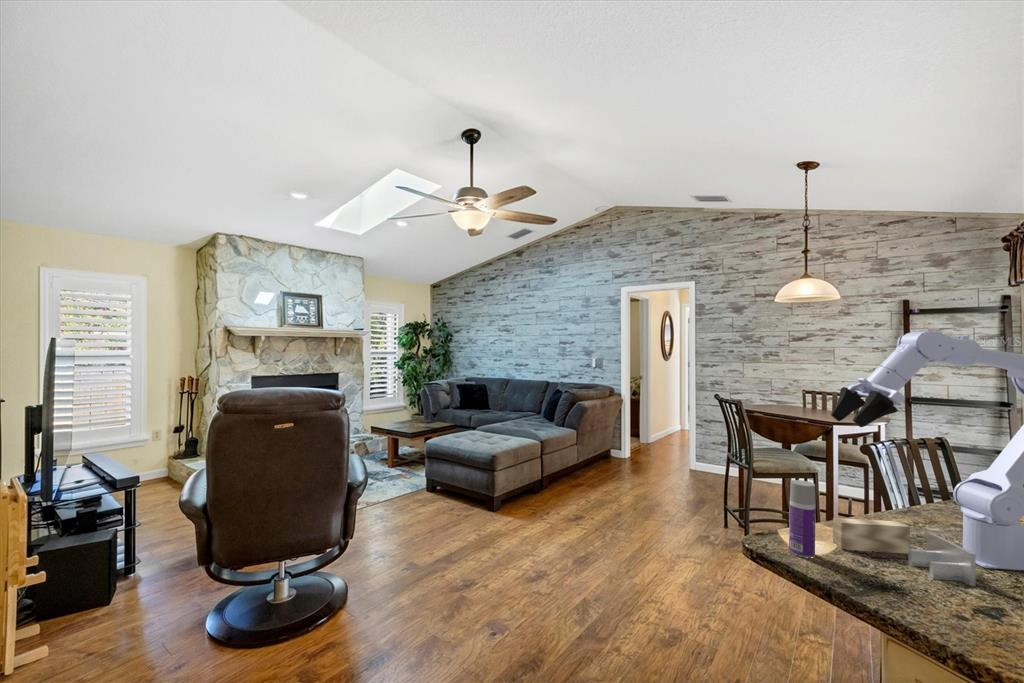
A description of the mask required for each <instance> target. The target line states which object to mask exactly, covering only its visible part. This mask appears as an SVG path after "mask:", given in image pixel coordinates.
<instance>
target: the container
mask: <svg viewBox="0 0 1024 683" xmlns="http://www.w3.org/2000/svg"><path fill="white" fill-rule="evenodd" d="M789 491H790V492H789V510H788V511H789V512H788V513H789V515H788V516H789V521H788V523H789V526H788V527H789V529H788V535H789V536H788V551H789V550H790V551H791V552H792V553H794V554H796V555H798V556H801V557H808V558H810V559H812V558H811V557H814V556H816V514H817V513H816V511H817V510H816V507H817V506H816V484H815V483H813V482H810V481H806V480H799V479H793V480H790V490H789ZM798 556H797V557H798ZM801 557H800V558H801ZM808 558H807V559H808ZM814 558H815V557H814Z"/></svg>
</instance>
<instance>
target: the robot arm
mask: <svg viewBox="0 0 1024 683" xmlns="http://www.w3.org/2000/svg"><path fill="white" fill-rule="evenodd" d="M930 360H931V361H932V362H933V361H934V362H938V363H943V364H944V363H945V364H949V365H954V366H960V367H971V366H974V365H975V364H981V365H985V366H990V367H995V368H998V369H1002V370H1007V372H1006V377H1007V378H1011V382H1012V384H1013V386H1014V388H1015V389H1016V390H1017V392H1018V393H1019V395H1021V397H1022V398H1023V399H1024V354H1022V353H1016V352H1009V351H1002V350H998V349H997V350H996V349H988V348H983V347H982V345H981V344H980V343H979V342H977V341H976V340H971V339H970V336H966V335H957V336H950V335H945V334H944V333H943V332H942V331H939V330H937V331H933V330H928V331H926V330H925V331H912V332H907V333H905V334H904V335H900V336H899V337H898V339H897V341H896V348H895V349H894V350H893V351H892V352H891V354H889V355H888V356H887V358H885V359H884V360H883V361H882V362H881V363H880V365H878V367H876V368H875V370H873V371H872V372H871V374H869V376H868V377H867V378H864V377H858V378H857V381H858V382H857V383H855V384H854V383H853V384H850V385H849V386H848V387H845V386H844V387H841V388H840V392H839V397H838V400H837V402H836V404H835V406H834V408H833V410H832V411H831V414H830V416H831V417H833V419H835V421H837V422H841V421H842V420H844V419H845V418H846V417H848V416H849V415H850V414H852V413H854V412H855V411H856V410H858V409H859V410H858V412H857V413H856V414H855V415H854V417H853V419H852V422H854V423H855V424H856V425H857V426H858V427H859V428H864V427H865V426H867V425H870V424H871V423H873V422H874V421H876V420H878V419H880V418H882V417H885V416H887V415H890V414H891V415H892V414H895V413H897V412H898V408H897V407H895V404H896V405H900V403H902V402H903V400H904V399H905V398H906V397H905V396H904V395H903V394H902V393H901V392H900V390H902V388H903V387H904V386H905V385H906V384H907V383H908V382H909V381H910V380H911V379H912V378H913V377H914V376H915V375H916V374H917V373H918V372H919V371H920V370H921V369H922V368H923V367H924V366H925V365H926V364H927V363H928V362H929V361H930ZM862 397H864V398H866V400H864V399H863V398H862ZM952 495H953V499H954V502H956V504H957V505H958V506H960V512H961V513H962V516H963V517H962V548H964V549H966V550H968V551H970V552H973V553H975V554H976V565H978V566H980V567H981V568H984V569H985V568H986V569H995V570H999V569H1000V570H1010V571H1011V570H1012V571H1024V525H1023V524H1022V523H1020V522H1019V521H1020V520H1022V519H1023V516H1024V423H1023V425H1022V426H1020V428H1019V429H1018V431H1017V432H1016V433H1015V434H1014V436H1013V437H1012V438H1011V439H1010V440H1009V442H1008V443H1007V445H1006V446H1005V447H1004V448H1003V450H1002V451H1001V452H999V455H998V456H997V457H996V458H995V459H994V460H993V462H992V463H991V464H990V466H989V467H988V468H987V469H984V470H981V471H977V472H974V473H971V474H970V476H968V478H966V479H964V480H963V481H959V483H957V484H956V486H955V487H954V489H953V493H952Z"/></svg>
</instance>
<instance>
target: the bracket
mask: <svg viewBox="0 0 1024 683" xmlns="http://www.w3.org/2000/svg"><path fill="white" fill-rule="evenodd" d="M907 555H908V556H907V559H908V560H907V562H908V564H907V565H909V566H910V567H921V568H922V567H924V568H929V578H931V579H932V580H942V581H944V580H945V581H957V582H958V581H960V582H963V583H965V584H966V585H968V586H970V587H976V569H977V568H976V565H977V564H976V554H975V553H973V552H970V551H968V550H966V549H964V548H963V546H960V545H958V544H956V543H954V542H952V541H950V540H947V539H945V538H943V537H941V536H940V535H937V534H935V533H934V532H926V550H925V549H911V548H910V549H908V554H907Z"/></svg>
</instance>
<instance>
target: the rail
mask: <svg viewBox="0 0 1024 683" xmlns="http://www.w3.org/2000/svg"><path fill="white" fill-rule="evenodd" d="M833 543H834V544H836V545H837V546H838V547H840V548H841V549H846V550H845V551H855V550H857V551H856V552H858V551H859V552H872V551H874V552H876V553H889V554H890V553H892V554H907V555H908V549H911V526H909V525H907V524H906V523H903V522H901V521H898V520H896V521H895V520H882V519H881V520H880V519H879V520H878V519H865V518H864V519H862V518H861V519H859V518H842V517H833V518H832V544H833ZM834 544H833V545H834ZM837 546H836V547H837ZM838 547H837V548H838ZM841 549H840V550H841ZM874 552H873V553H874Z"/></svg>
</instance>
